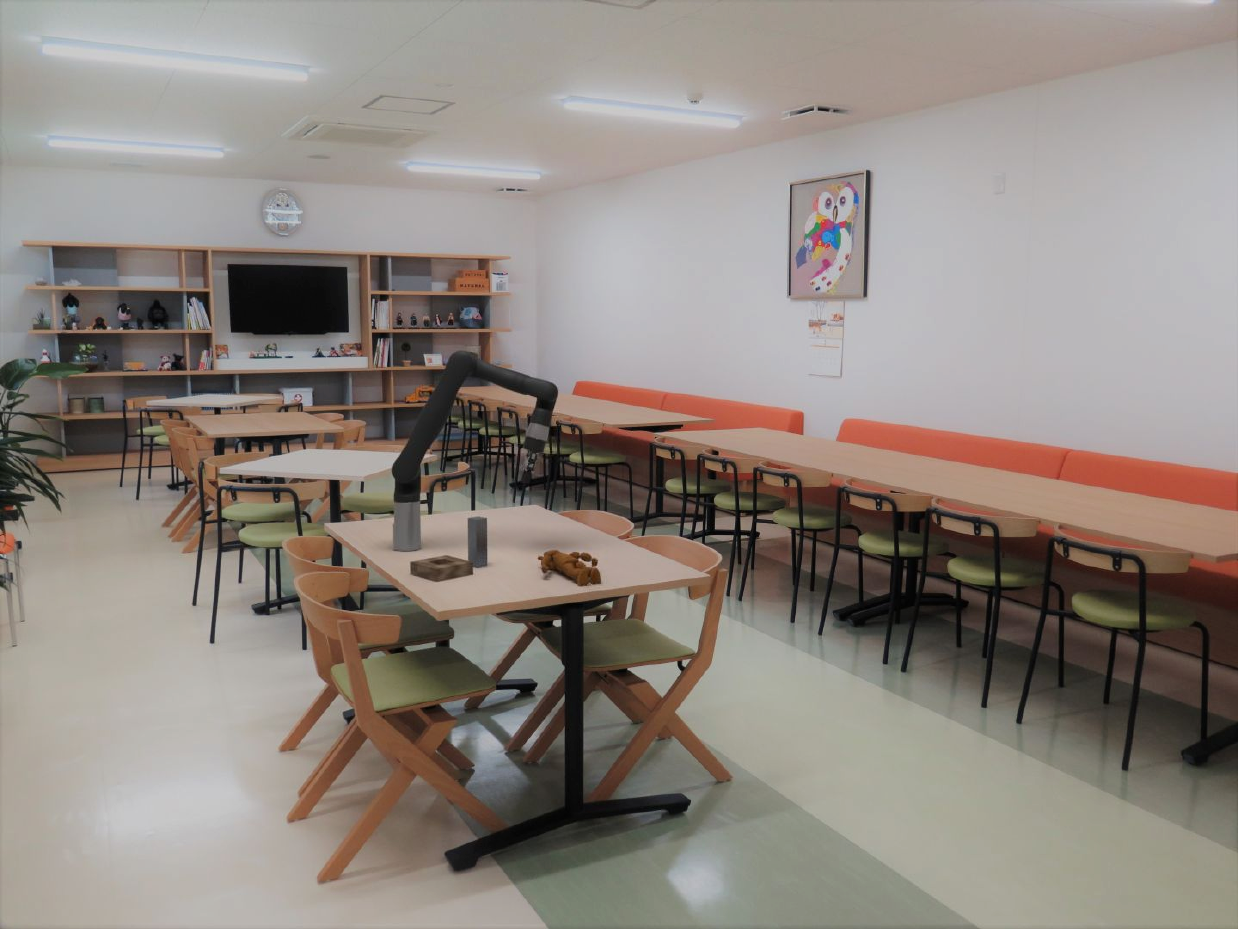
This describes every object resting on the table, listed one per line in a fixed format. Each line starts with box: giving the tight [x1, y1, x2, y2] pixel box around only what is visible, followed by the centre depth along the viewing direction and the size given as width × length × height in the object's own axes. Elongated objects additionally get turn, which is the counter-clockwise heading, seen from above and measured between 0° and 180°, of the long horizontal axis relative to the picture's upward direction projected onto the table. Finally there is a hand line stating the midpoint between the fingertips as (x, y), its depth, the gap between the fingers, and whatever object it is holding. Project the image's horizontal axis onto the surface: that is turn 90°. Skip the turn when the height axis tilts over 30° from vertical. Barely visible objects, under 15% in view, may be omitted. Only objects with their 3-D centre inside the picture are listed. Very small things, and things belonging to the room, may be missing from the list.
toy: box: [537, 549, 602, 587], centre depth 313 cm, size 20×7×30 cm
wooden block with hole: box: [409, 554, 474, 583], centre depth 312 cm, size 14×14×4 cm
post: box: [467, 516, 488, 569], centre depth 323 cm, size 4×4×16 cm
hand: (524, 482), depth 342 cm, fingers open, 8 cm apart
